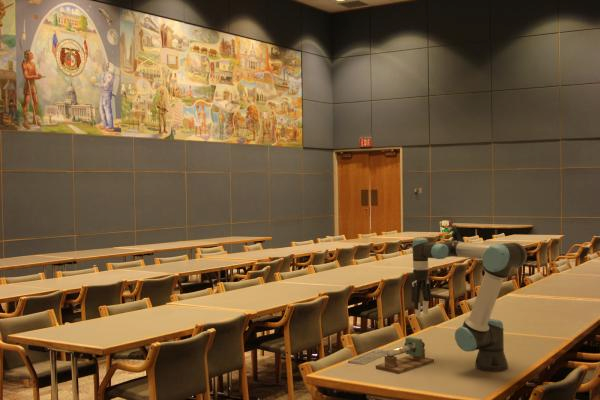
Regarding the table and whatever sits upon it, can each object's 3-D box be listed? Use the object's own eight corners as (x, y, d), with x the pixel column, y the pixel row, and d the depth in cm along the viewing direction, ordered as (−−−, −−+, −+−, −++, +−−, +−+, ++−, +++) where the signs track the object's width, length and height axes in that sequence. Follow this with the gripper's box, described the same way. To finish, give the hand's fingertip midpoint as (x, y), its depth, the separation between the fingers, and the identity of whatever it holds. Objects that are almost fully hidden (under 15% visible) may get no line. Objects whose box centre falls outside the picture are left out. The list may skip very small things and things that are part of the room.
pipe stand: (411, 357, 352) (411, 345, 352) (434, 362, 342) (433, 349, 342) (375, 368, 333) (375, 355, 333) (398, 373, 323) (398, 360, 323)
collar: (409, 352, 346) (409, 336, 346) (422, 355, 341) (422, 339, 340) (405, 353, 344) (405, 337, 344) (418, 356, 339) (418, 340, 338)
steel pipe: (417, 347, 347) (417, 340, 347) (422, 348, 345) (422, 341, 345) (386, 356, 331) (386, 349, 331) (392, 357, 328) (391, 350, 328)
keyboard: (365, 366, 340) (365, 362, 340) (347, 363, 346) (347, 360, 346) (393, 353, 364) (392, 350, 364) (375, 351, 370) (375, 347, 370)
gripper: (425, 266, 356) (426, 311, 356) (403, 270, 343) (404, 316, 343) (437, 267, 350) (438, 313, 350) (415, 271, 337) (416, 318, 338)
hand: (421, 314), depth 347 cm, fingers open, 6 cm apart
